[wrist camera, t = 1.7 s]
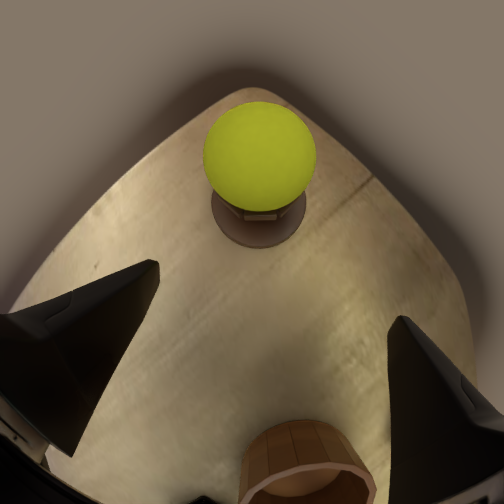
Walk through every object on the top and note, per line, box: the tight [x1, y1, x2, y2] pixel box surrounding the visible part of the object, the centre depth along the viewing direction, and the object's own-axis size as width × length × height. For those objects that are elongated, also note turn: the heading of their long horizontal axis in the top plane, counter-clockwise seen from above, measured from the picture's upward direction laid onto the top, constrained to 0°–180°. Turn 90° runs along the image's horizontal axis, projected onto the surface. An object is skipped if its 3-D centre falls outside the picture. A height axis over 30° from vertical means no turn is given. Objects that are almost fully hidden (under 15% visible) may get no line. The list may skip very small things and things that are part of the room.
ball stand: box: [211, 189, 306, 249], centre depth 21 cm, size 8×8×6 cm
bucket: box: [238, 420, 377, 504], centre depth 16 cm, size 10×10×8 cm
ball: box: [203, 102, 316, 211], centre depth 16 cm, size 7×7×7 cm
